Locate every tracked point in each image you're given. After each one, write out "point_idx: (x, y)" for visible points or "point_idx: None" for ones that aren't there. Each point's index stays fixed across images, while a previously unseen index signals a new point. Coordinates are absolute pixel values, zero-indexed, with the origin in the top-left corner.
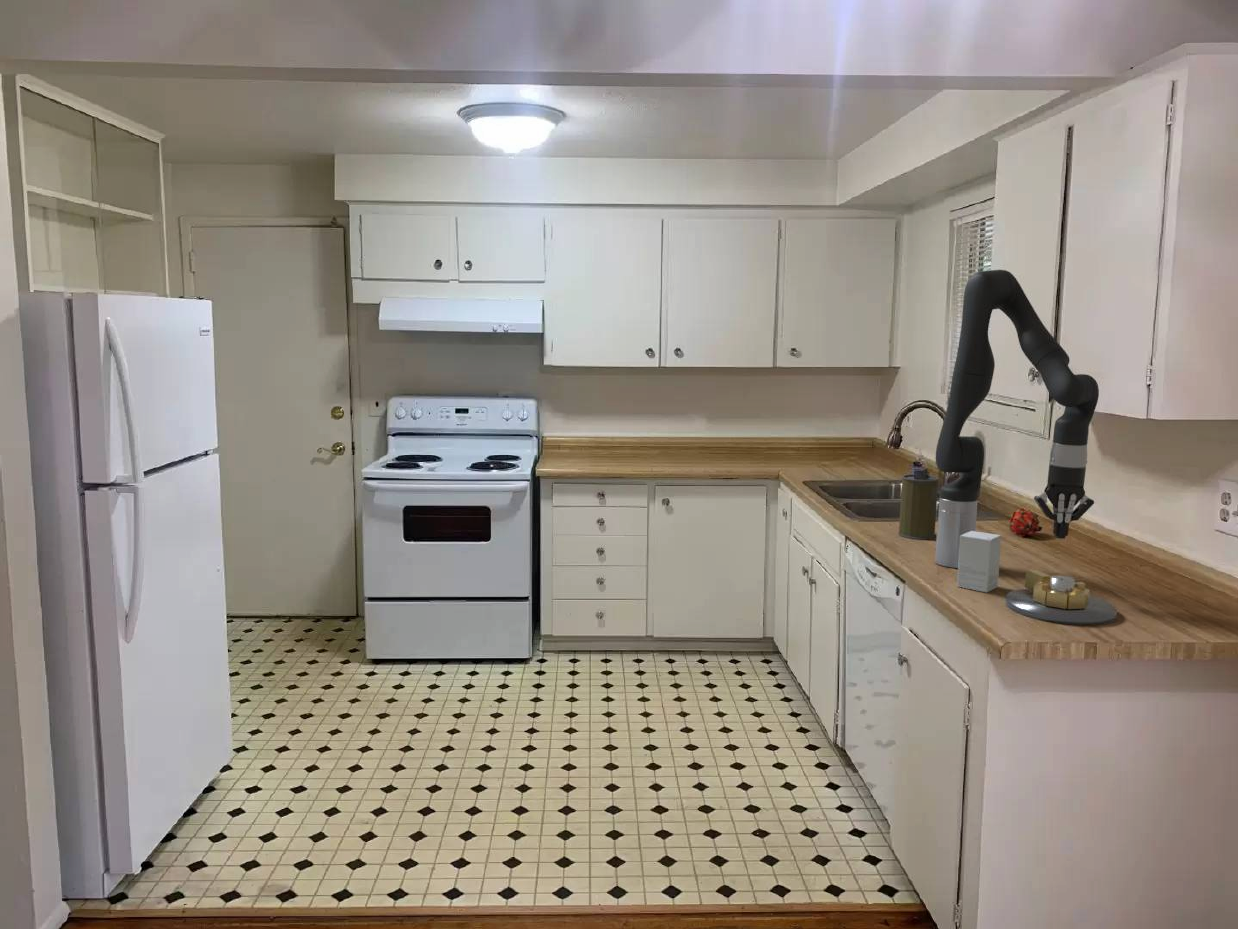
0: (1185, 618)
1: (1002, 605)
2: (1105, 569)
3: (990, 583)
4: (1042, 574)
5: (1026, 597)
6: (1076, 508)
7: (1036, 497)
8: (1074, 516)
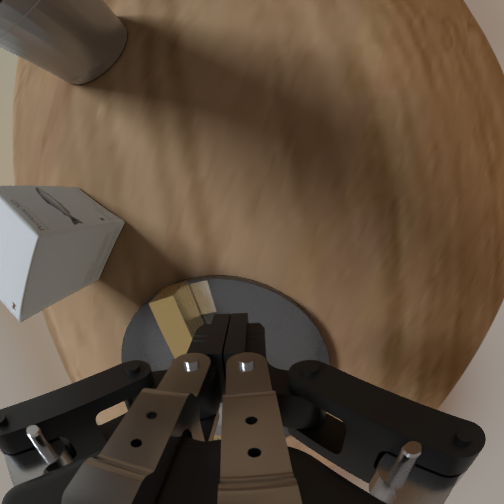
0: (430, 366)
1: (121, 359)
2: (420, 33)
3: (95, 271)
4: (183, 348)
5: (158, 356)
6: (344, 421)
7: (4, 452)
8: (294, 435)
